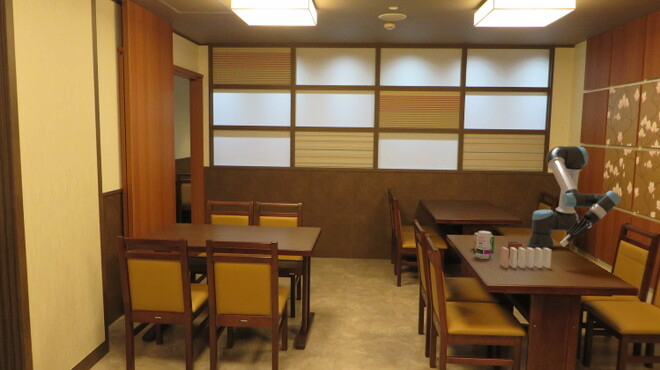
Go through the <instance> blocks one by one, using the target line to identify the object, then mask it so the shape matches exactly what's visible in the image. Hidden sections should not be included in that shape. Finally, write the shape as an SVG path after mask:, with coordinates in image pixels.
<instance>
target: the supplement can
mask: <svg viewBox="0 0 660 370" xmlns="http://www.w3.org/2000/svg"><path fill="white" fill-rule="evenodd" d="M476 233H477V246H476V251H475V257H476V258H477V259H481V260H489V259H490V258H491V257H492V253H491V245H492V236H493V234H492V232H491V231H488V230H478V232H476Z"/></svg>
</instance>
